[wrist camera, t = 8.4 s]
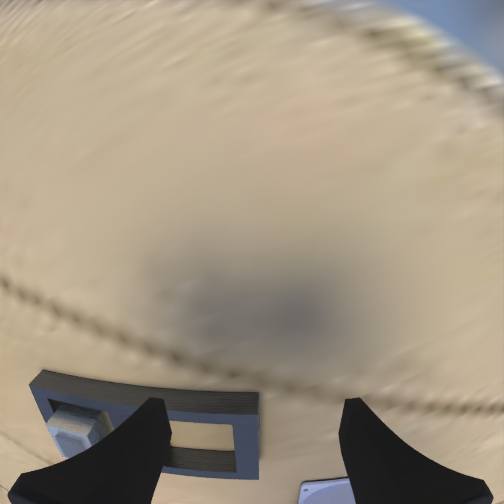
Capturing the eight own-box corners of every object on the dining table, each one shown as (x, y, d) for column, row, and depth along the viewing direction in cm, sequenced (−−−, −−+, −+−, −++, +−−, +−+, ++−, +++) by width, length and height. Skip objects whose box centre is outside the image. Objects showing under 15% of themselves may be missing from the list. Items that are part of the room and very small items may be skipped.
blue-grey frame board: (259, 458, 24) (258, 479, 22) (69, 433, 25) (59, 448, 22) (258, 392, 22) (258, 414, 20) (42, 369, 23) (28, 384, 20)
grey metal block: (121, 430, 24) (100, 471, 19) (84, 422, 24) (60, 459, 19) (110, 397, 23) (84, 439, 18) (72, 389, 23) (43, 427, 18)
